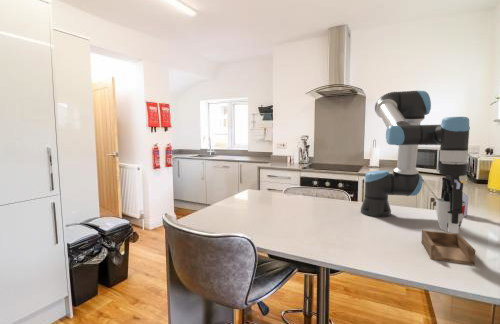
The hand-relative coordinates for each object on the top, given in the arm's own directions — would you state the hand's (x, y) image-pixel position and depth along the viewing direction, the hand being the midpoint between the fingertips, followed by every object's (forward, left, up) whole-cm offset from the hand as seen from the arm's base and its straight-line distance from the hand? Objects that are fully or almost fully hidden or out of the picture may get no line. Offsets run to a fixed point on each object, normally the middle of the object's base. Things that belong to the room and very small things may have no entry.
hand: (449, 228), depth 93 cm
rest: (0, +3, -10) cm, 10 cm away
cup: (0, 0, 0) cm, 0 cm away
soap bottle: (+19, +63, -10) cm, 67 cm away
